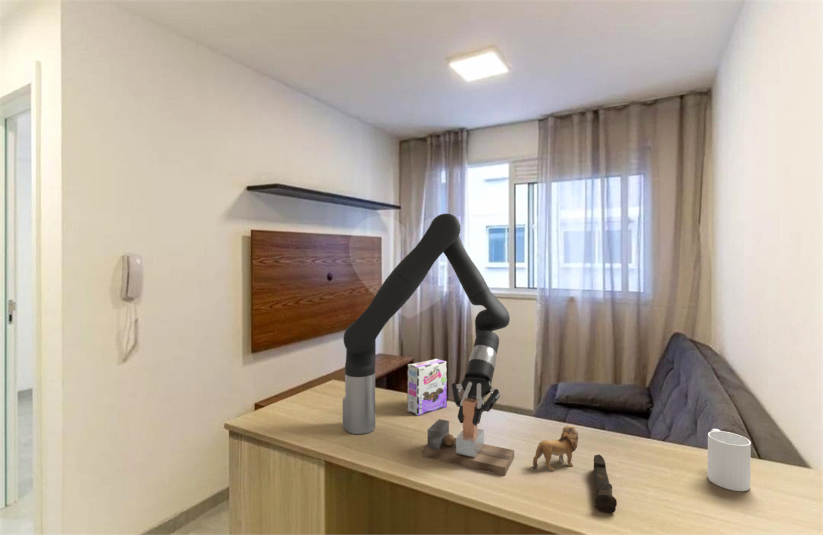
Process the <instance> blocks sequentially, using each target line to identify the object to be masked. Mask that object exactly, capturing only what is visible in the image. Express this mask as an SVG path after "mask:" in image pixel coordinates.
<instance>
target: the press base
mask: <svg viewBox="0 0 823 535" xmlns="http://www.w3.org/2000/svg"><path fill="white" fill-rule="evenodd" d="M447 434H450V421H449V420H445V419H441V418H439V419H438V420H436V421H435V422H434V423H433V424H432V425H430V426H429V428H428V429H427V444H426V445H425V446H424V447H423V448H422V457H423V458H427V459H430V460H431V459H432V460H436V461H440V462H444V463H449V464H453V465H456V466H457V465H458V466H462V467H466V468H470V469H475V470H478V471H482V472H483V471H484V472H487V473H492V474H495V475H501V476H505V477H506V475H507V473H508V471H509V470H510V468H511V465H512V464H513V462H514V459H515V449H511V448H510V449H509V448H507V447H501V446H495V445H490V444H487V443H484V445H483V447H482V448H481V449H480V451H479V452H478V454H477V455H476V456H475V457H470V456H465V455H461V454H456V437H454V439H455V442H454V444H453V445H452V446H447V445H446V444H445V443H444V437H445V435H447Z"/></svg>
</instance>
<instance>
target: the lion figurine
mask: <svg viewBox="0 0 823 535" xmlns="http://www.w3.org/2000/svg"><path fill="white" fill-rule="evenodd" d="M578 445H579V432H578V430H577V429H576V427H575V426H573V425H569V424H567V425H566V426H564V427H563V428H562V432H561V435H560V438H559V439H556V440H546V439H545V440H541V441H540V442H539V443H538V445H537V448H536V451H535V455H534V457H533V460H532V466H533V467H534V468H533V471H537V468H538V467H539V464H538V460H539V458H541V457H542V456H543V457H544V459H545V463H544V464H545V466H546V467H547V469H548V470H549V471H550V472H554V471H555V468H554V467H552V466H551V459H552V457H553V456H558V457H559V458H558V461H559V462H560V463H563V462H565V459H564V455H566V456H567V457H566V458H567V459H566V464H567V465H568V467H573V466H574V464H573V463H572V458H573V453H574V452H575V451H576V450H577V448H578Z"/></svg>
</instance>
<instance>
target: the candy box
mask: <svg viewBox="0 0 823 535" xmlns="http://www.w3.org/2000/svg"><path fill="white" fill-rule="evenodd" d="M447 363H448V362H447V361H446V360H443V359H439V358H434V359H430V360H424V361H421V362H420V361H419V362H415V363H408V364H407V403H406V404H407V406H406V407H407V409H406V410H407V412H409V413H411V414H413V415H415V416H422V415H425V414H428V413H432V412H434V411H438V410H441V409H444V408H447V407H448V390H447V389H448V387H447V386H448V382H447V381H448V378H447V377H448V373H447V372H448V370H447V369H448V367H447V366H448V364H447Z"/></svg>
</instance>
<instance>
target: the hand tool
mask: <svg viewBox="0 0 823 535" xmlns="http://www.w3.org/2000/svg"><path fill="white" fill-rule="evenodd" d="M606 466H607V465H606V462H605V459H604V457H603V455H601V454H595V455H594V456H593V478H594V486H595V496H596V497H595V499H594V501H595V502H594V504H595V505H594V507H595V508H596V510H597V511H598V512H601V513H602V512H603V513H605V514H614V513H615V512H616V508H617V505H618V501H617V498H615V497H614V496H613V485H612V484H611V483H610V480H609V475H608V473H607V467H606Z"/></svg>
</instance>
